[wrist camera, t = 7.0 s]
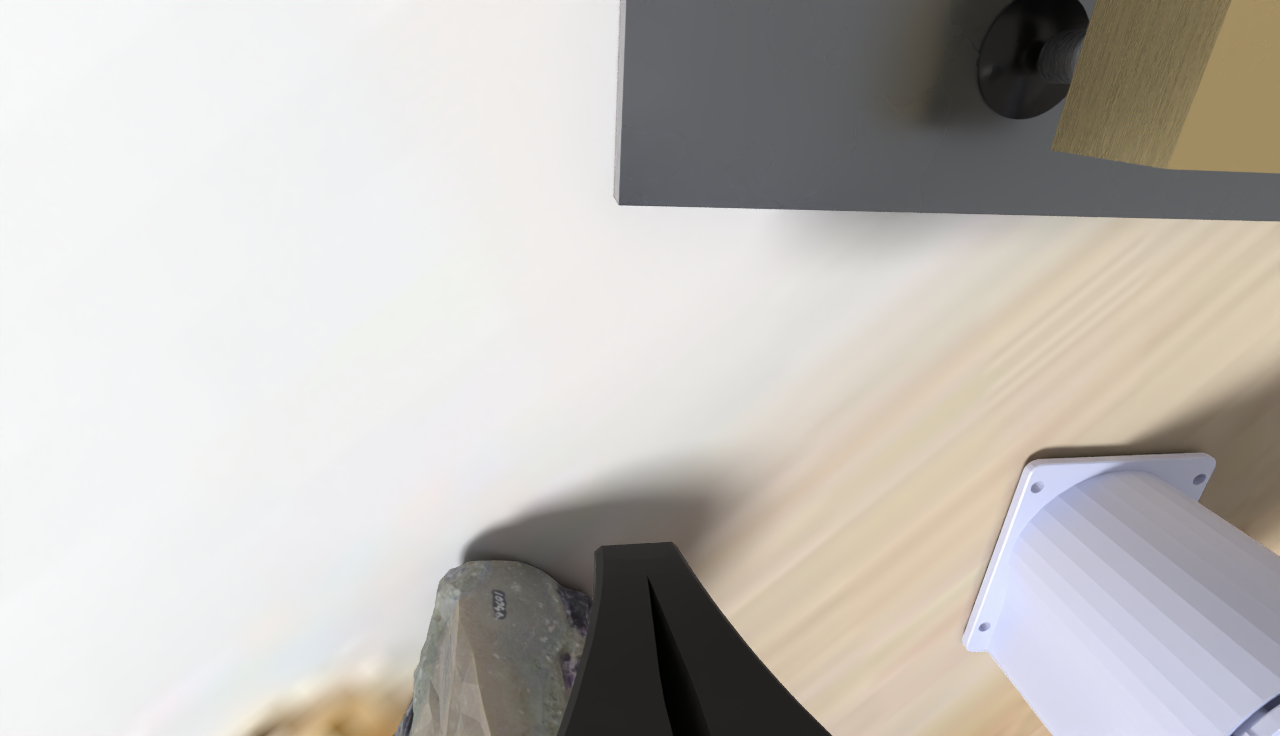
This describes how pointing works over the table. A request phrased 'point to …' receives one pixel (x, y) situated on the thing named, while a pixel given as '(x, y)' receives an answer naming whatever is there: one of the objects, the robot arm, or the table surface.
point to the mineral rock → (498, 653)
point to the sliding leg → (1171, 84)
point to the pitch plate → (876, 114)
